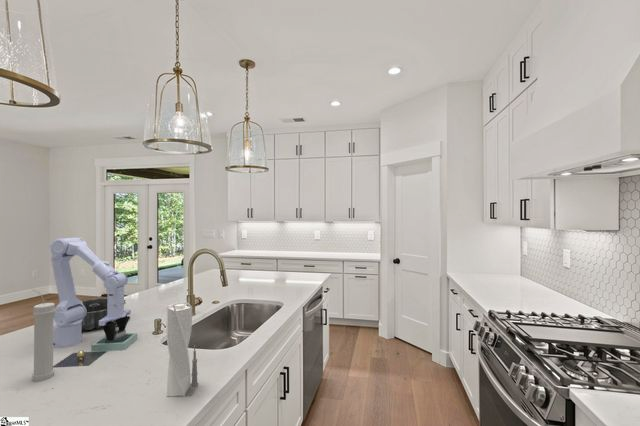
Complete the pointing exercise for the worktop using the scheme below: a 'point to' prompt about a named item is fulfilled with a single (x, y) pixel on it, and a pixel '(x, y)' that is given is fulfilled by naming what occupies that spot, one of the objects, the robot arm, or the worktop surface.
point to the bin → (103, 346)
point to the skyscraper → (180, 351)
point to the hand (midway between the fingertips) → (115, 337)
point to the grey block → (117, 336)
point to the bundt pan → (94, 313)
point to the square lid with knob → (80, 359)
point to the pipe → (43, 341)
